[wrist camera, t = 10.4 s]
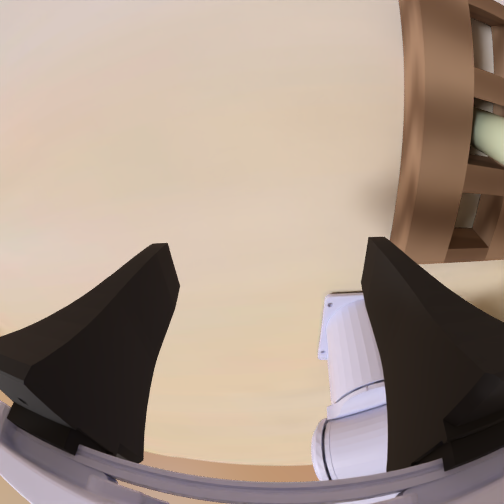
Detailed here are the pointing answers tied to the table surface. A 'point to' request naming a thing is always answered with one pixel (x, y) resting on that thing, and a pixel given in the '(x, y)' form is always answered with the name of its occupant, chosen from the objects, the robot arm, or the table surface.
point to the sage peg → (488, 134)
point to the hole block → (447, 134)
